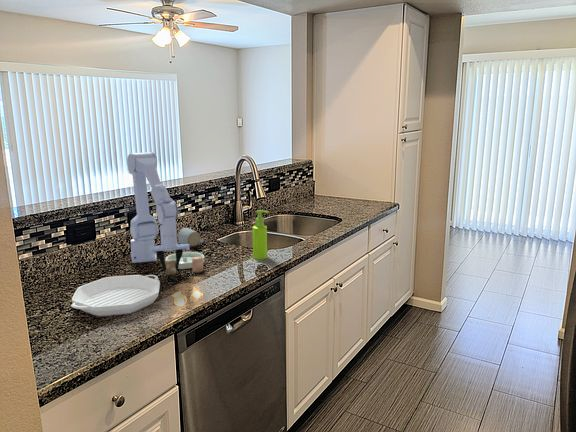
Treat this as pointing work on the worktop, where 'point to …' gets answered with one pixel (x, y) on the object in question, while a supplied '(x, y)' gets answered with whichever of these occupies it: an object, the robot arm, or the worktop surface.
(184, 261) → the groove tray
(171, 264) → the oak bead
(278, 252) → the worktop surface
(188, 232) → the ceramic mug
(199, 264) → the peach rounded oval piece
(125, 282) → the pan
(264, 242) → the soap dispenser
